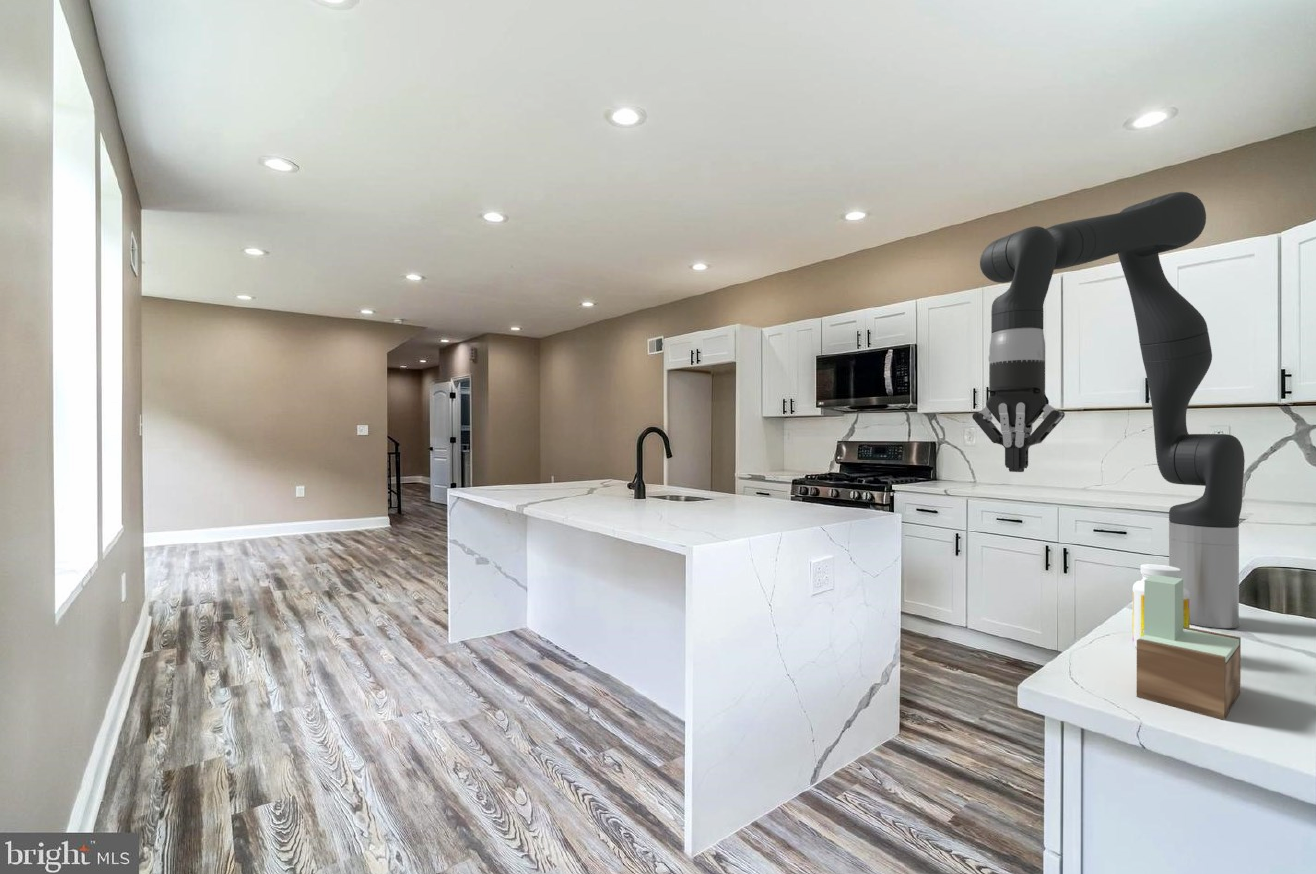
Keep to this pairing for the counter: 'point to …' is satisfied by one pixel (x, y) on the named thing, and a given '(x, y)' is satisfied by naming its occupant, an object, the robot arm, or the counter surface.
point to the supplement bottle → (1138, 597)
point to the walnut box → (1188, 677)
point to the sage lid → (1177, 620)
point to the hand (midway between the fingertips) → (1016, 471)
